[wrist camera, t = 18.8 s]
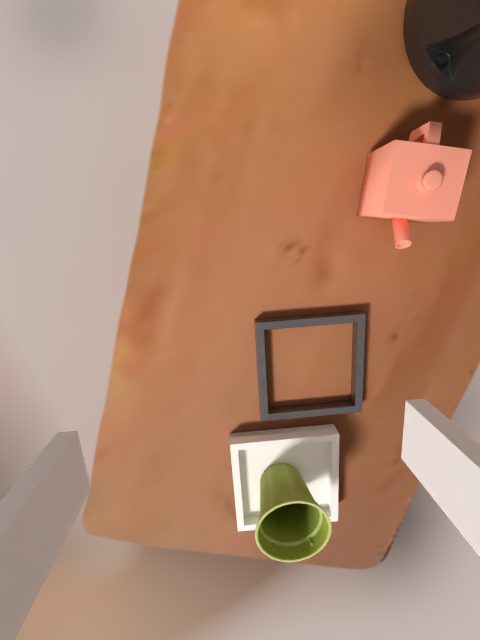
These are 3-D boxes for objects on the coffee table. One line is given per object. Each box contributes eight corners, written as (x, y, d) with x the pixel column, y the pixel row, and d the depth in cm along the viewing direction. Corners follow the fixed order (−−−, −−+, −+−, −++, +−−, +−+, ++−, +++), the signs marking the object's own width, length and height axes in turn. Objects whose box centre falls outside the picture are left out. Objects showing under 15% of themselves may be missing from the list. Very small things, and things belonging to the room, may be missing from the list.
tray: (333, 423, 46) (339, 434, 44) (332, 507, 50) (337, 520, 48) (229, 433, 46) (230, 444, 43) (237, 516, 50) (237, 531, 47)
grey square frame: (360, 311, 42) (365, 313, 40) (357, 406, 46) (362, 411, 44) (254, 319, 41) (255, 323, 40) (260, 415, 45) (261, 421, 44)
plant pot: (310, 448, 46) (330, 496, 38) (313, 501, 49) (332, 557, 40) (246, 456, 46) (251, 507, 37) (252, 509, 48) (259, 567, 40)
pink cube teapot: (348, 243, 40) (379, 246, 32) (367, 135, 36) (408, 109, 29) (408, 249, 40) (454, 254, 32) (432, 144, 37) (489, 120, 29)
